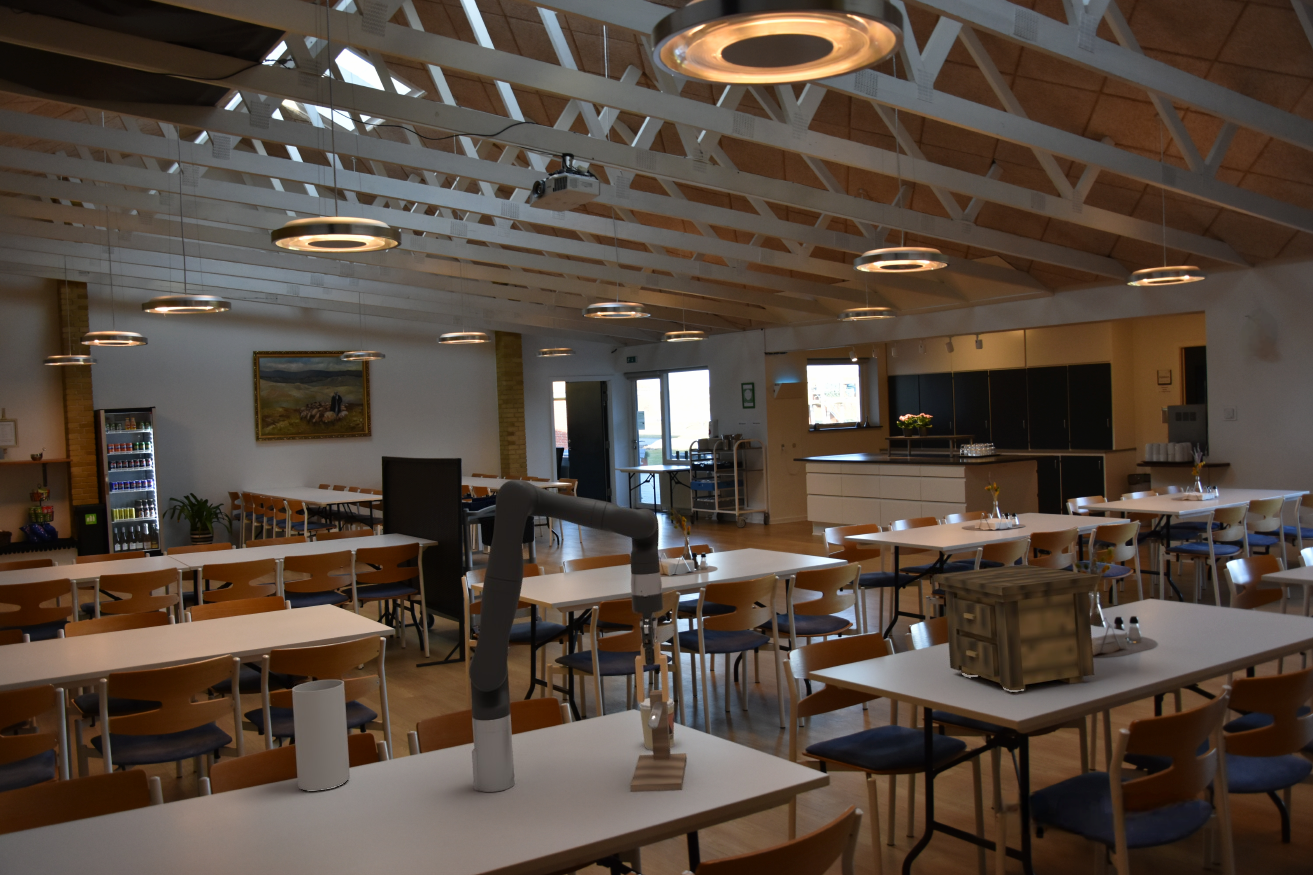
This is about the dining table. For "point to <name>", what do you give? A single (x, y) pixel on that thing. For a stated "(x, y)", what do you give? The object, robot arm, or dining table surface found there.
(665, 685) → the forked wooden block
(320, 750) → the cylinder vase
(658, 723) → the hook rack
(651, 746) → the coffee cup
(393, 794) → the dining table surface
